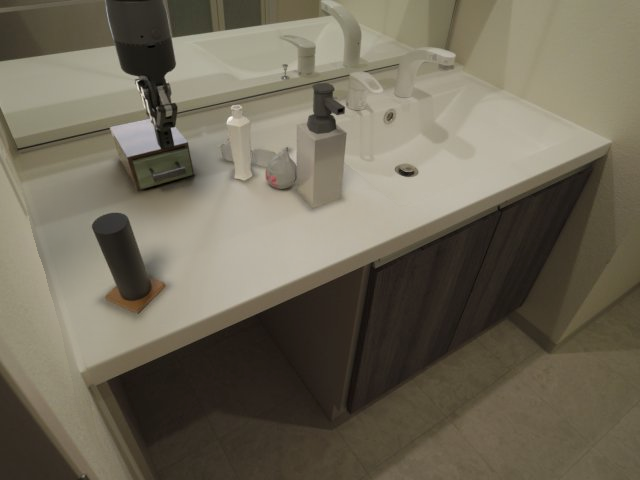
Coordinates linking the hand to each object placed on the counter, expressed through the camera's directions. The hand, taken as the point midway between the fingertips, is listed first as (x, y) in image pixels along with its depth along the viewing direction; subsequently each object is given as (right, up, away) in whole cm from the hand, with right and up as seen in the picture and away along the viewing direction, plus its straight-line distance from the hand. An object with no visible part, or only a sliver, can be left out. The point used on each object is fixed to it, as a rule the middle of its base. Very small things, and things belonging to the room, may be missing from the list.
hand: (166, 147), depth 68 cm
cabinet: (-10, 0, +21) cm, 23 cm away
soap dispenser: (+25, -7, +15) cm, 30 cm away
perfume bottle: (+9, -2, +20) cm, 22 cm away
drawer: (-8, -1, +18) cm, 19 cm away
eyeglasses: (+10, +4, +26) cm, 28 cm away
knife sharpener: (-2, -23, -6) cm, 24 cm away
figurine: (+17, -4, +17) cm, 25 cm away
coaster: (-3, -23, -5) cm, 24 cm away
